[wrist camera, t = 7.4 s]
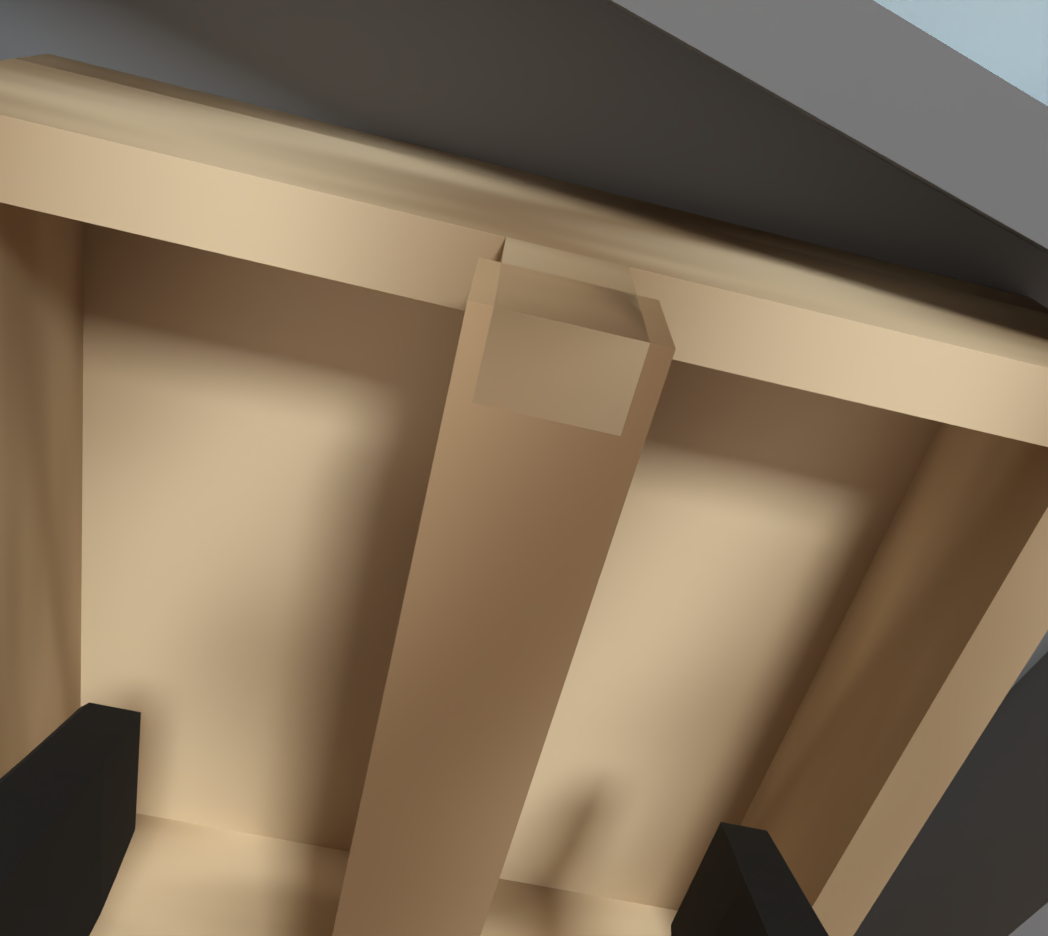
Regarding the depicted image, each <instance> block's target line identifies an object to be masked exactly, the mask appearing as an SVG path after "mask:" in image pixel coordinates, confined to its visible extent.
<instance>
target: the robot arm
mask: <svg viewBox="0 0 1048 936" xmlns="http://www.w3.org/2000/svg"><path fill="white" fill-rule="evenodd" d="M140 722H141V712H137V711H132V710H127V709H121V708H116V707H111V706H105V705H100V704H95V703H90V702H89V703H87V704H85V705H84V706H82V707H80V708H79V709H77V710H76V711H75V712H74V713H73V714H72V715H71V716H70V717H69V718H68V719H67V720H66V721H64V722H63V723H62V724H61V725H60V726H59V727H58V728H57V729H56V730H55V731H54V732H52V733H51V734H50V735H49V736H48V737H47V738H46V739H45V740H44V741H42V742H41V743H40V744H39V745H38V746H37V747H36V748H35V749H34V750H32V751H31V752H30V753H29V754H28V755H27V756H26V757H25V758H23V759H22V760H21V761H20V762H19V763H18V764H17V765H15V766H14V767H13V768H12V769H11V770H10V771H8V772H7V773H6V774H5V775H4V776H3V777H1V778H0V936H89V935H90V933H91V932H92V930H93V928H94V926H95V924H96V922H97V920H98V918H99V916H100V914H101V912H102V909H103V907H104V905H105V902H106V900H107V898H108V895H109V893H110V890H111V888H112V886H113V883H114V881H115V879H116V876H117V874H118V871H119V869H120V866H121V864H122V861H123V859H124V856H125V854H126V851H127V849H128V846H129V844H130V841H131V839H132V836H133V834H134V831H135V824H136V804H137V784H138V763H139V743H140ZM671 936H829V935H828V933H827V932H826V930H825V928H824V927H823V925H822V923H821V922H820V920H819V918H818V917H817V915H816V913H815V911H814V910H813V908H812V906H811V905H810V903H809V901H808V899H807V898H806V896H805V894H804V893H803V891H802V889H801V888H800V886H799V884H798V882H797V881H796V879H795V877H794V875H793V874H792V872H791V870H790V869H789V867H788V865H787V864H786V862H785V860H784V858H783V857H782V855H781V853H780V852H779V850H778V848H777V847H776V845H775V843H774V842H773V840H772V838H771V837H770V835H769V833H768V831H766V830H761V829H756V828H750V827H745V826H740V825H735V824H729V823H724V822H720V824H719V826H718V828H717V830H716V833H715V835H714V837H713V839H712V841H711V843H710V845H709V847H708V849H707V851H706V853H705V855H704V857H703V859H702V862H701V864H700V866H699V868H698V870H697V872H696V874H695V876H694V878H693V880H692V882H691V884H690V886H689V888H688V890H687V893H686V895H685V897H684V899H683V901H682V903H681V905H680V907H679V909H678V911H677V913H676V915H675V917H674V919H673V921H672V924H671Z"/></svg>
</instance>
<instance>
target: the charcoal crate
mask: <svg viewBox="0 0 1048 936" xmlns="http://www.w3.org/2000/svg"><path fill="white" fill-rule="evenodd" d="M42 54H52V55H56V56H60V57H64V58H68V59H72V60H76V61H80V62H84V63H88V64H92V65H96V66H100V67H104V68H108V69H112V70H116V71H120V72H124V73H128V74H132V75H136V76H140V77H144V78H148V79H152V80H157V81H161V82H165V83H169V84H173V85H177V86H181V87H185V88H189V89H193V90H197V91H201V92H205V93H209V94H213V95H217V96H221V97H225V98H229V99H233V100H237V101H241V102H245V103H249V104H253V105H257V106H261V107H265V108H269V109H273V110H277V111H281V112H285V113H289V114H293V115H297V116H301V117H305V118H309V119H313V120H317V121H322V122H326V123H330V124H334V125H338V126H342V127H346V128H350V129H354V130H358V131H362V132H366V133H370V134H374V135H378V136H382V137H386V138H390V139H394V140H398V141H402V142H406V143H410V144H414V145H418V146H422V147H426V148H430V149H434V150H438V151H442V152H446V153H450V154H454V155H458V156H462V157H466V158H470V159H474V160H478V161H483V162H487V163H491V164H495V165H499V166H503V167H507V168H511V169H515V170H519V171H523V172H527V173H531V174H535V175H539V176H543V177H547V178H551V179H555V180H559V181H563V182H567V183H571V184H575V185H579V186H583V187H587V188H591V189H595V190H599V191H603V192H607V193H611V194H615V195H619V196H623V197H627V198H631V199H635V200H639V201H643V202H648V203H652V204H656V205H660V206H664V207H668V208H672V209H676V210H680V211H684V212H688V213H692V214H696V215H700V216H704V217H708V218H712V219H716V220H720V221H724V222H728V223H732V224H736V225H740V226H744V227H748V228H752V229H756V230H760V231H764V232H768V233H772V234H776V235H780V236H784V237H788V238H792V239H796V240H800V241H804V242H808V243H813V244H817V245H821V246H825V247H829V248H833V249H837V250H841V251H845V252H849V253H853V254H857V255H861V256H865V257H869V258H873V259H877V260H881V261H885V262H889V263H893V264H897V265H901V266H905V267H909V268H913V269H917V270H921V271H925V272H929V273H933V274H937V275H941V276H945V277H949V278H953V279H957V280H961V281H965V282H969V283H974V284H978V285H982V286H986V287H990V288H994V289H998V290H1002V291H1006V292H1010V293H1014V294H1018V295H1022V296H1026V297H1030V298H1032V299H1033V300H1035V301H1036V302H1038V303H1040V304H1041V305H1043V306H1044V307H1046V308H1047V309H1048V106H1046V105H1044V104H1043V103H1041V102H1039V101H1038V100H1036V99H1034V98H1033V97H1031V96H1030V95H1028V94H1026V93H1025V92H1023V91H1021V90H1020V89H1018V88H1016V87H1015V86H1013V85H1011V84H1010V83H1008V82H1006V81H1005V80H1003V79H1002V78H1000V77H998V76H997V75H995V74H993V73H992V72H990V71H988V70H987V69H985V68H983V67H982V66H980V65H978V64H977V63H975V62H974V61H972V60H970V59H969V58H967V57H965V56H964V55H962V54H960V53H959V52H957V51H955V50H954V49H952V48H950V47H949V46H947V45H946V44H944V43H942V42H941V41H939V40H937V39H936V38H934V37H932V36H931V35H929V34H927V33H926V32H924V31H922V30H921V29H919V28H918V27H916V26H914V25H913V24H911V23H909V22H908V21H906V20H904V19H903V18H901V17H899V16H898V15H896V14H894V13H893V12H891V11H890V10H888V9H886V8H885V7H883V6H881V5H880V4H878V3H876V2H875V1H873V0H0V60H6V59H13V58H20V57H28V56H35V55H42ZM854 936H1048V630H1047V632H1046V634H1045V635H1044V637H1043V638H1042V640H1041V641H1040V643H1039V645H1038V646H1037V648H1036V649H1035V651H1034V652H1033V654H1032V656H1031V657H1030V659H1029V660H1028V662H1027V663H1026V665H1025V667H1024V668H1023V670H1022V671H1021V673H1020V674H1019V676H1018V678H1017V679H1016V681H1015V682H1014V684H1013V685H1012V687H1011V689H1010V690H1009V692H1008V693H1007V695H1006V696H1005V698H1004V700H1003V701H1002V703H1001V704H1000V706H999V707H998V709H997V711H996V712H995V714H994V715H993V717H992V718H991V720H990V722H989V723H988V725H987V726H986V728H985V729H984V731H983V733H982V734H981V736H980V737H979V739H978V740H977V742H976V744H975V745H974V747H973V748H972V750H971V751H970V753H969V755H968V756H967V758H966V759H965V761H964V762H963V764H962V766H961V767H960V769H959V770H958V772H957V773H956V775H955V777H954V778H953V780H952V781H951V783H950V785H949V786H948V788H947V789H946V791H945V792H944V794H943V796H942V797H941V799H940V800H939V802H938V803H937V805H936V807H935V808H934V810H933V811H932V813H931V814H930V816H929V818H928V819H927V821H926V822H925V824H924V825H923V827H922V829H921V830H920V832H919V833H918V835H917V836H916V838H915V840H914V841H913V843H912V844H911V846H910V847H909V849H908V851H907V852H906V854H905V855H904V857H903V858H902V860H901V862H900V863H899V865H898V866H897V868H896V869H895V871H894V873H893V874H892V876H891V877H890V879H889V880H888V882H887V884H886V885H885V887H884V888H883V890H882V891H881V893H880V895H879V896H878V898H877V899H876V901H875V902H874V904H873V906H872V907H871V909H870V910H869V912H868V913H867V915H866V917H865V918H864V920H863V921H862V923H861V924H860V926H859V928H858V929H857V931H856V932H855V934H854Z"/></svg>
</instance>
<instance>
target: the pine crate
mask: <svg viewBox="0 0 1048 936" xmlns="http://www.w3.org/2000/svg"><path fill="white" fill-rule="evenodd" d="M1047 630H1048V309H1047V308H1046V307H1044V306H1043V305H1041V304H1040V303H1038V302H1036V301H1035V300H1033V299H1032V298H1030V297H1026V296H1022V295H1018V294H1014V293H1010V292H1006V291H1002V290H998V289H994V288H990V287H986V286H982V285H978V284H974V283H969V282H965V281H961V280H957V279H953V278H949V277H945V276H941V275H937V274H933V273H929V272H925V271H921V270H917V269H913V268H909V267H905V266H901V265H897V264H893V263H889V262H885V261H881V260H877V259H873V258H869V257H865V256H861V255H857V254H853V253H849V252H845V251H841V250H837V249H833V248H829V247H825V246H821V245H817V244H813V243H808V242H804V241H800V240H796V239H792V238H788V237H784V236H780V235H776V234H772V233H768V232H764V231H760V230H756V229H752V228H748V227H744V226H740V225H736V224H732V223H728V222H724V221H720V220H716V219H712V218H708V217H704V216H700V215H696V214H692V213H688V212H684V211H680V210H676V209H672V208H668V207H664V206H660V205H656V204H652V203H648V202H643V201H639V200H635V199H631V198H627V197H623V196H619V195H615V194H611V193H607V192H603V191H599V190H595V189H591V188H587V187H583V186H579V185H575V184H571V183H567V182H563V181H559V180H555V179H551V178H547V177H543V176H539V175H535V174H531V173H527V172H523V171H519V170H515V169H511V168H507V167H503V166H499V165H495V164H491V163H487V162H483V161H478V160H474V159H470V158H466V157H462V156H458V155H454V154H450V153H446V152H442V151H438V150H434V149H430V148H426V147H422V146H418V145H414V144H410V143H406V142H402V141H398V140H394V139H390V138H386V137H382V136H378V135H374V134H370V133H366V132H362V131H358V130H354V129H350V128H346V127H342V126H338V125H334V124H330V123H326V122H322V121H317V120H313V119H309V118H305V117H301V116H297V115H293V114H289V113H285V112H281V111H277V110H273V109H269V108H265V107H261V106H257V105H253V104H249V103H245V102H241V101H237V100H233V99H229V98H225V97H221V96H217V95H213V94H209V93H205V92H201V91H197V90H193V89H189V88H185V87H181V86H177V85H173V84H169V83H165V82H161V81H157V80H152V79H148V78H144V77H140V76H136V75H132V74H128V73H124V72H120V71H116V70H112V69H108V68H104V67H100V66H96V65H92V64H88V63H84V62H80V61H76V60H72V59H68V58H64V57H60V56H56V55H52V54H42V55H35V56H28V57H20V58H13V59H6V60H0V778H1V777H3V776H4V775H5V774H6V773H7V772H8V771H10V770H11V769H12V768H13V767H14V766H15V765H17V764H18V763H19V762H20V761H21V760H22V759H23V758H25V757H26V756H27V755H28V754H29V753H30V752H31V751H32V750H34V749H35V748H36V747H37V746H38V745H39V744H40V743H41V742H42V741H44V740H45V739H46V738H47V737H48V736H49V735H50V734H51V733H52V732H54V731H55V730H56V729H57V728H58V727H59V726H60V725H61V724H62V723H63V722H64V721H66V720H67V719H68V718H69V717H70V716H71V715H72V714H73V713H74V712H75V711H76V710H77V709H79V708H80V707H82V706H84V705H85V704H87V703H89V702H90V703H95V704H100V705H105V706H111V707H116V708H121V709H127V710H132V711H137V712H141V722H140V743H139V763H138V784H137V804H136V824H135V831H134V834H133V836H132V839H131V841H130V844H129V846H128V849H127V851H126V854H125V856H124V859H123V861H122V864H121V866H120V869H119V871H118V874H117V876H116V879H115V881H114V883H113V886H112V888H111V890H110V893H109V895H108V898H107V900H106V902H105V905H104V907H103V909H102V912H101V914H100V916H99V918H98V920H97V922H96V924H95V926H94V928H93V930H92V932H91V933H90V935H89V936H671V924H672V921H673V919H674V917H675V915H676V913H677V911H678V909H679V907H680V905H681V903H682V901H683V899H684V897H685V895H686V893H687V890H688V888H689V886H690V884H691V882H692V880H693V878H694V876H695V874H696V872H697V870H698V868H699V866H700V864H701V862H702V859H703V857H704V855H705V853H706V851H707V849H708V847H709V845H710V843H711V841H712V839H713V837H714V835H715V833H716V830H717V828H718V826H719V824H720V822H724V823H729V824H735V825H740V826H745V827H750V828H756V829H761V830H766V831H768V833H769V835H770V837H771V838H772V840H773V842H774V843H775V845H776V847H777V848H778V850H779V852H780V853H781V855H782V857H783V858H784V860H785V862H786V864H787V865H788V867H789V869H790V870H791V872H792V874H793V875H794V877H795V879H796V881H797V882H798V884H799V886H800V888H801V889H802V891H803V893H804V894H805V896H806V898H807V899H808V901H809V903H810V905H811V906H812V908H813V910H814V911H815V913H816V915H817V917H818V918H819V920H820V922H821V923H822V925H823V927H824V928H825V930H826V932H827V933H828V935H829V936H854V934H855V932H856V931H857V929H858V928H859V926H860V924H861V923H862V921H863V920H864V918H865V917H866V915H867V913H868V912H869V910H870V909H871V907H872V906H873V904H874V902H875V901H876V899H877V898H878V896H879V895H880V893H881V891H882V890H883V888H884V887H885V885H886V884H887V882H888V880H889V879H890V877H891V876H892V874H893V873H894V871H895V869H896V868H897V866H898V865H899V863H900V862H901V860H902V858H903V857H904V855H905V854H906V852H907V851H908V849H909V847H910V846H911V844H912V843H913V841H914V840H915V838H916V836H917V835H918V833H919V832H920V830H921V829H922V827H923V825H924V824H925V822H926V821H927V819H928V818H929V816H930V814H931V813H932V811H933V810H934V808H935V807H936V805H937V803H938V802H939V800H940V799H941V797H942V796H943V794H944V792H945V791H946V789H947V788H948V786H949V785H950V783H951V781H952V780H953V778H954V777H955V775H956V773H957V772H958V770H959V769H960V767H961V766H962V764H963V762H964V761H965V759H966V758H967V756H968V755H969V753H970V751H971V750H972V748H973V747H974V745H975V744H976V742H977V740H978V739H979V737H980V736H981V734H982V733H983V731H984V729H985V728H986V726H987V725H988V723H989V722H990V720H991V718H992V717H993V715H994V714H995V712H996V711H997V709H998V707H999V706H1000V704H1001V703H1002V701H1003V700H1004V698H1005V696H1006V695H1007V693H1008V692H1009V690H1010V689H1011V687H1012V685H1013V684H1014V682H1015V681H1016V679H1017V678H1018V676H1019V674H1020V673H1021V671H1022V670H1023V668H1024V667H1025V665H1026V663H1027V662H1028V660H1029V659H1030V657H1031V656H1032V654H1033V652H1034V651H1035V649H1036V648H1037V646H1038V645H1039V643H1040V641H1041V640H1042V638H1043V637H1044V635H1045V634H1046V632H1047Z"/></svg>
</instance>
